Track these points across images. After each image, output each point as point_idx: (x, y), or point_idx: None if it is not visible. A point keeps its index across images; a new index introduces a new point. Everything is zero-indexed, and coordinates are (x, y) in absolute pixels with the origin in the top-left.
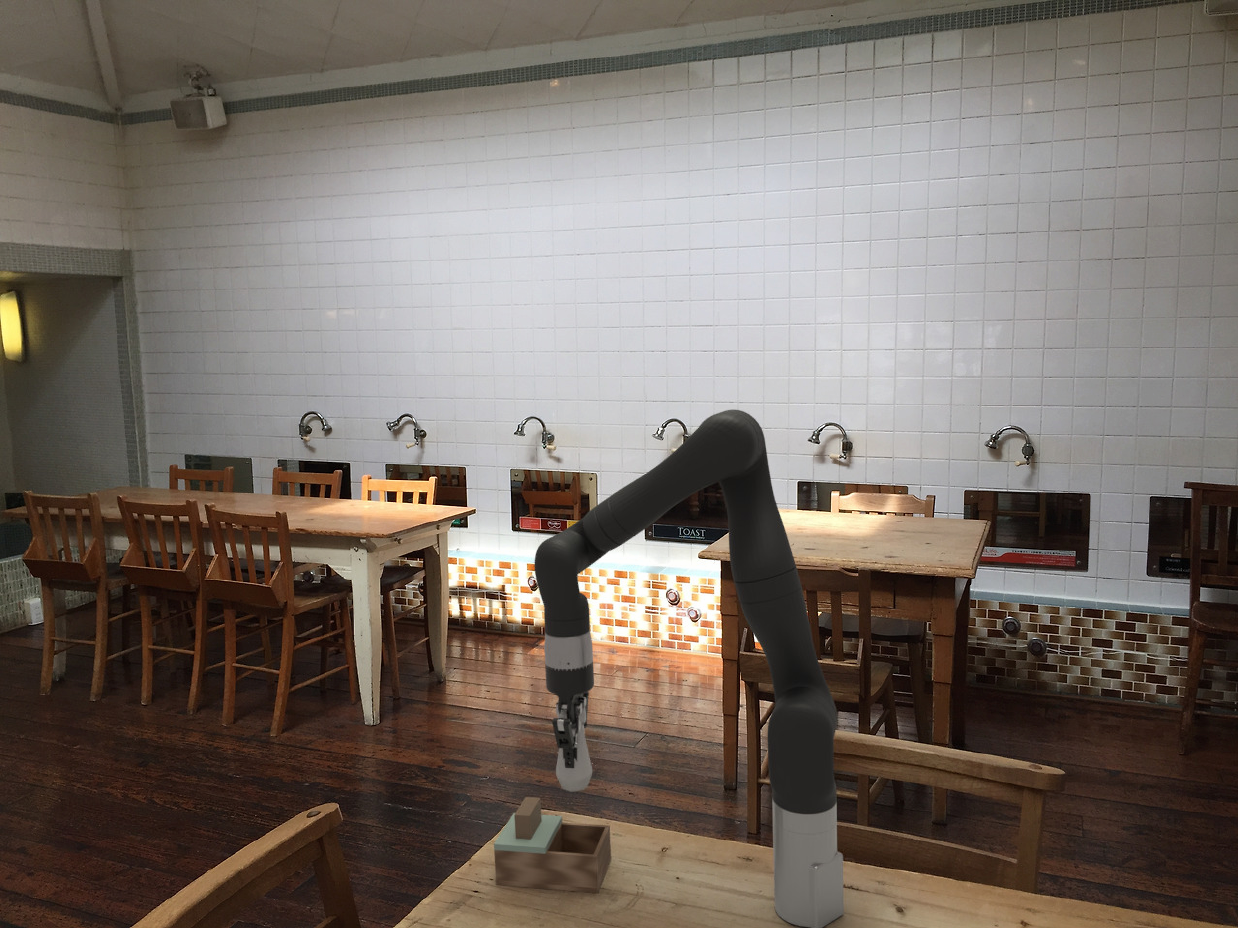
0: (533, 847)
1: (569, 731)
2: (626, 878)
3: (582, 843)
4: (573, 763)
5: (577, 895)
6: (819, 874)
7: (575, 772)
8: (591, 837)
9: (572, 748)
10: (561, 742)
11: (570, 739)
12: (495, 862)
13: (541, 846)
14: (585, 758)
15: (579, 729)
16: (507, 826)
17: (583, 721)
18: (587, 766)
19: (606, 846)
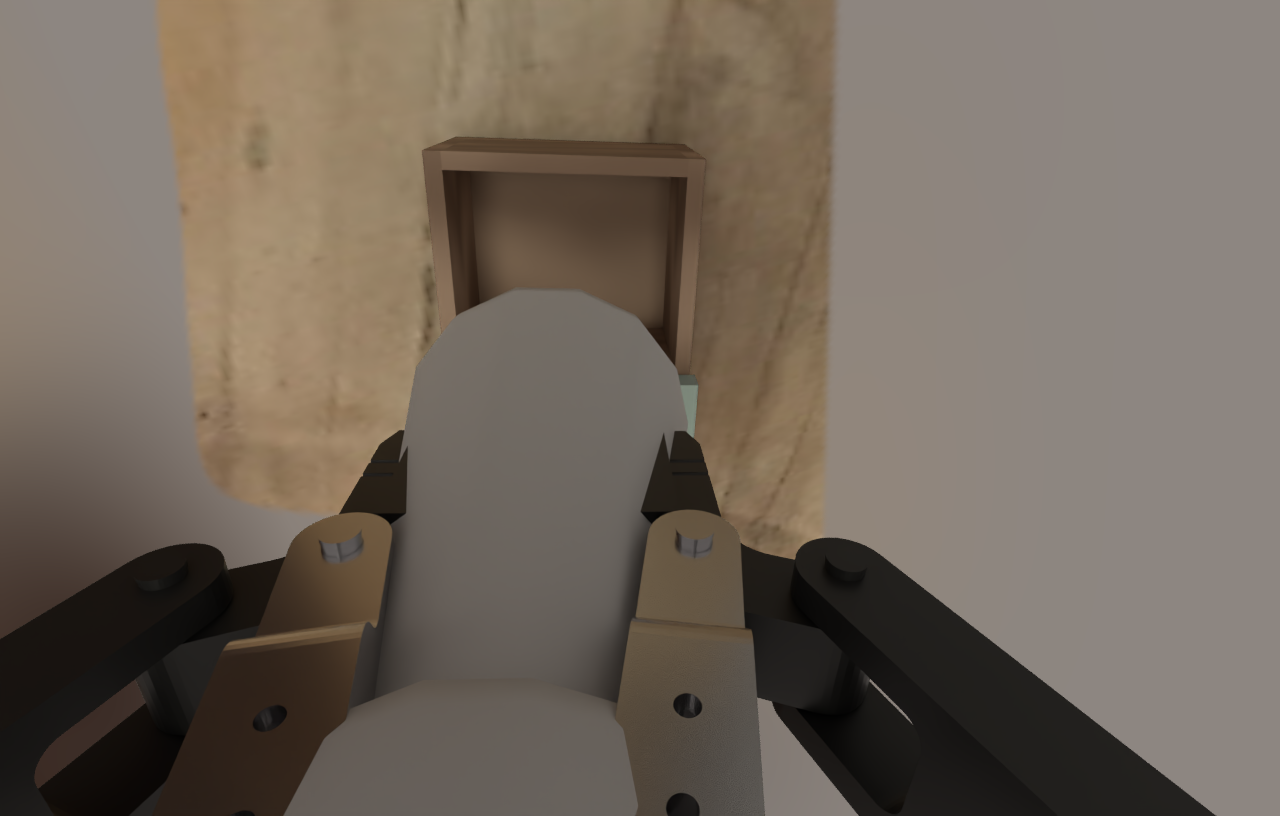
0: (694, 426)
1: (1186, 795)
2: (575, 44)
3: (467, 263)
4: (699, 453)
5: (702, 217)
6: None
7: (675, 404)
8: (459, 230)
9: (872, 551)
10: (860, 698)
11: (1011, 660)
12: None
13: (689, 400)
14: (592, 377)
15: (706, 643)
16: None
17: (521, 682)
18: (593, 334)
19: (513, 147)
